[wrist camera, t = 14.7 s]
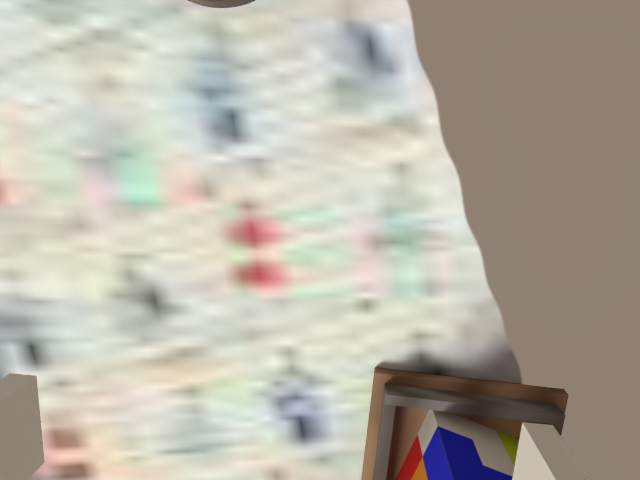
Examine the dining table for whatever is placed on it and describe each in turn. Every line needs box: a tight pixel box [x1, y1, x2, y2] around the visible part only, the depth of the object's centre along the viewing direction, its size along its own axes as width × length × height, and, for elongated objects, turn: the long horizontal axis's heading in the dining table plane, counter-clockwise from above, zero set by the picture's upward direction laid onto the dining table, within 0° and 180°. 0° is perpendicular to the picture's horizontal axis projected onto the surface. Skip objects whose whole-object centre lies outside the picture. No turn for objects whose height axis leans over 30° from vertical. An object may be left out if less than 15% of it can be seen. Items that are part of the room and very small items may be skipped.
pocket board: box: [362, 368, 568, 480], centre depth 44 cm, size 18×18×3 cm
